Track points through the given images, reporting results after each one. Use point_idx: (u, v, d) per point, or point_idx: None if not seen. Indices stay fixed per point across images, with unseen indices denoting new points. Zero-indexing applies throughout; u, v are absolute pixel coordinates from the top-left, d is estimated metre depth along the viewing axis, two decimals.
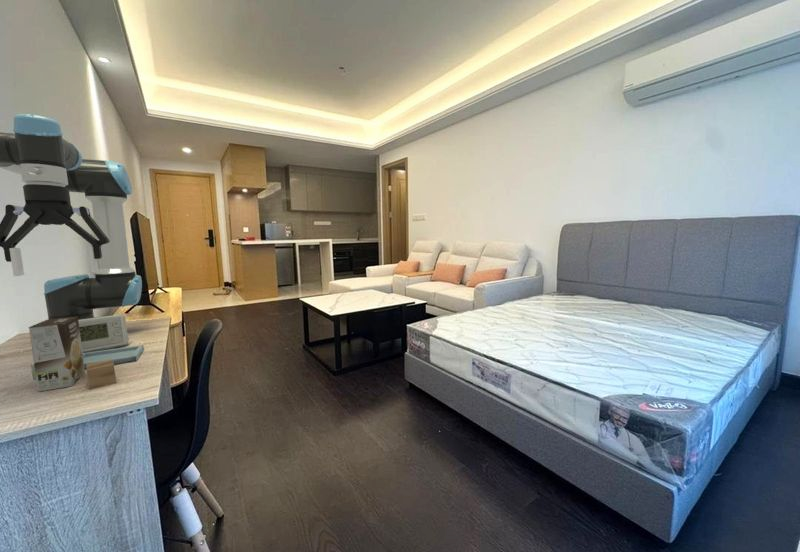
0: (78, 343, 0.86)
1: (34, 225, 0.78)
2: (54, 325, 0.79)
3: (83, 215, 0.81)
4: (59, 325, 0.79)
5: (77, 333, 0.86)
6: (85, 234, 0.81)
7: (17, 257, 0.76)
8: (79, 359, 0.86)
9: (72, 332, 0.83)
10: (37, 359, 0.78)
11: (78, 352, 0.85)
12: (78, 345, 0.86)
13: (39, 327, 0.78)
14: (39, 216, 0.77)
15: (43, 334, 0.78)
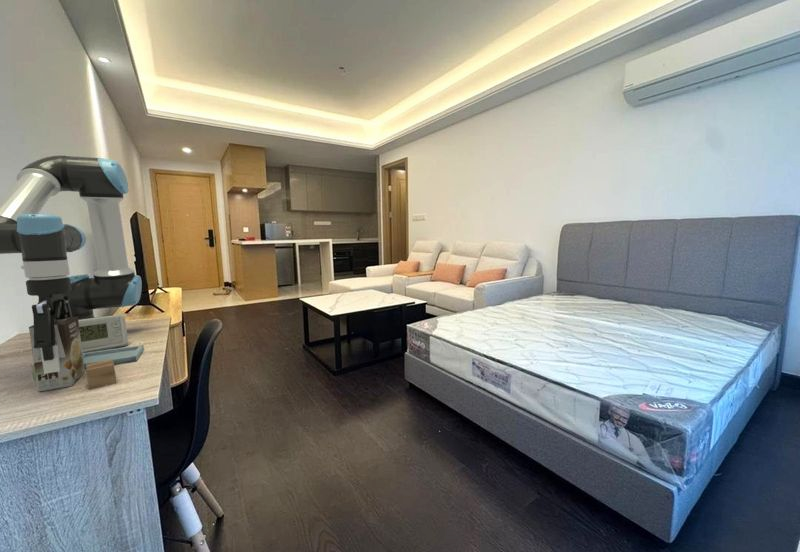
0: (78, 343, 0.86)
1: None
2: (54, 325, 0.79)
3: None
4: (59, 325, 0.79)
5: (77, 333, 0.86)
6: None
7: None
8: (79, 359, 0.86)
9: (72, 332, 0.83)
10: (37, 359, 0.78)
11: (77, 352, 0.85)
12: (78, 345, 0.86)
13: None
14: None
15: None
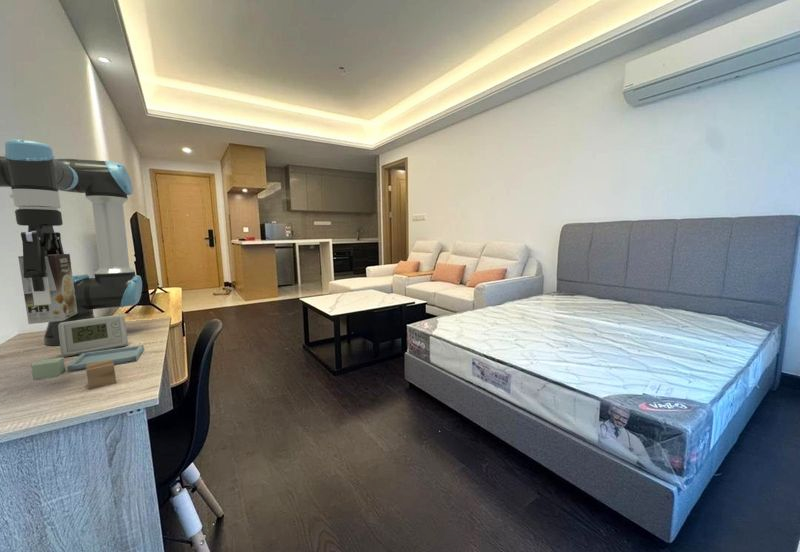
0: (70, 280, 0.84)
1: (49, 249, 0.82)
2: None
3: None
4: (49, 257, 0.77)
5: (69, 270, 0.84)
6: None
7: None
8: (71, 297, 0.84)
9: (63, 267, 0.81)
10: (27, 290, 0.76)
11: (69, 289, 0.83)
12: (70, 282, 0.84)
13: None
14: None
15: None
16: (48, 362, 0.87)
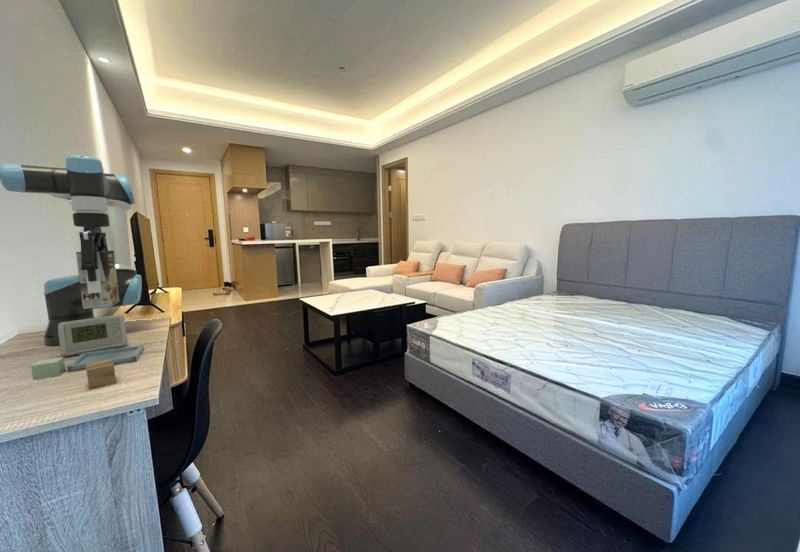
0: (114, 273, 0.99)
1: None
2: None
3: None
4: (100, 252, 0.92)
5: (113, 264, 0.99)
6: None
7: None
8: (115, 287, 0.99)
9: (110, 261, 0.96)
10: (82, 280, 0.91)
11: (114, 280, 0.98)
12: (114, 275, 0.99)
13: None
14: None
15: None
16: (48, 362, 0.87)
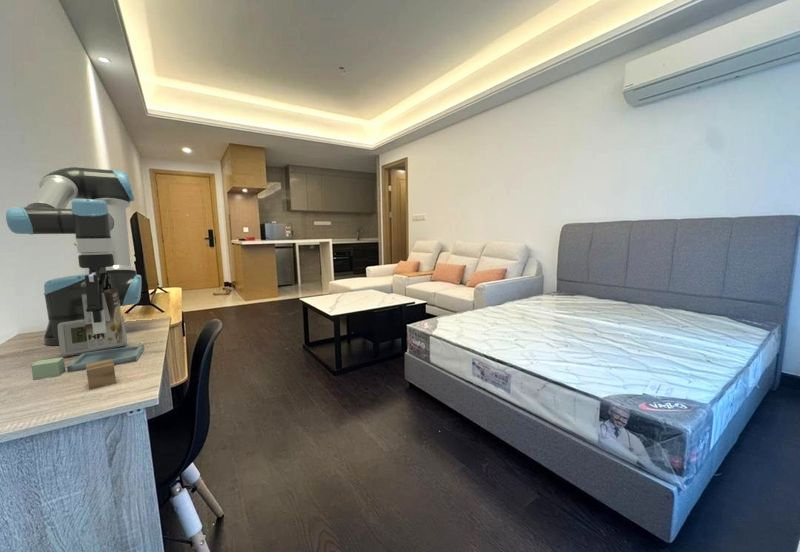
0: (119, 311, 1.00)
1: None
2: None
3: None
4: (105, 293, 0.94)
5: (118, 302, 1.00)
6: None
7: None
8: (119, 324, 1.00)
9: (114, 300, 0.97)
10: (88, 321, 0.92)
11: (118, 318, 1.00)
12: (119, 312, 1.00)
13: None
14: None
15: None
16: (48, 362, 0.87)
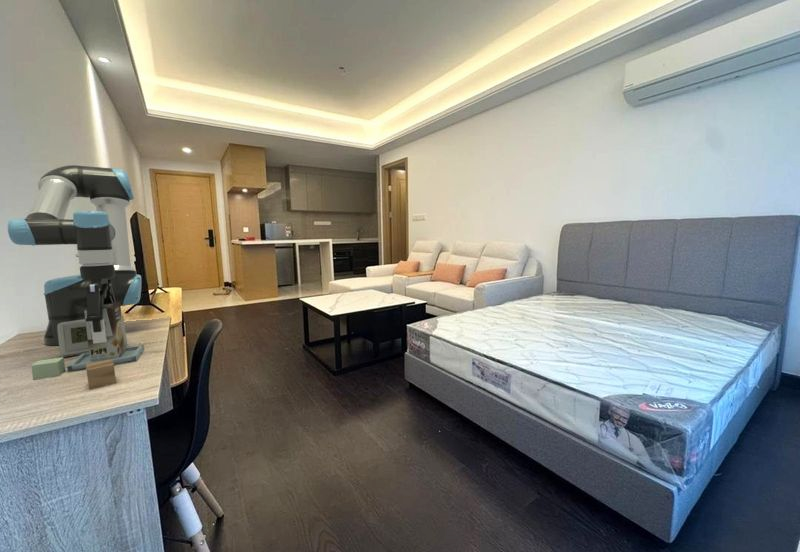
0: (121, 325, 1.01)
1: None
2: (104, 308, 0.94)
3: None
4: (108, 308, 0.94)
5: (120, 316, 1.01)
6: None
7: None
8: (121, 338, 1.01)
9: (117, 315, 0.98)
10: (90, 337, 0.93)
11: (120, 332, 1.01)
12: (121, 327, 1.01)
13: None
14: None
15: None
16: (48, 362, 0.87)
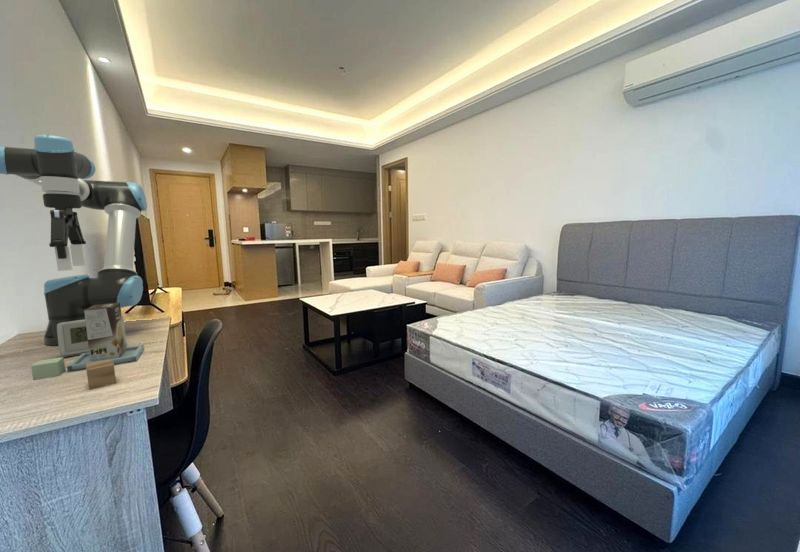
0: (120, 325, 1.01)
1: (70, 227, 0.97)
2: (104, 308, 0.94)
3: None
4: (108, 308, 0.94)
5: (120, 316, 1.01)
6: None
7: (74, 251, 1.00)
8: (121, 338, 1.01)
9: (116, 315, 0.98)
10: (90, 337, 0.93)
11: (120, 332, 1.01)
12: (121, 327, 1.01)
13: (92, 310, 0.93)
14: None
15: (95, 316, 0.93)
16: (48, 362, 0.87)
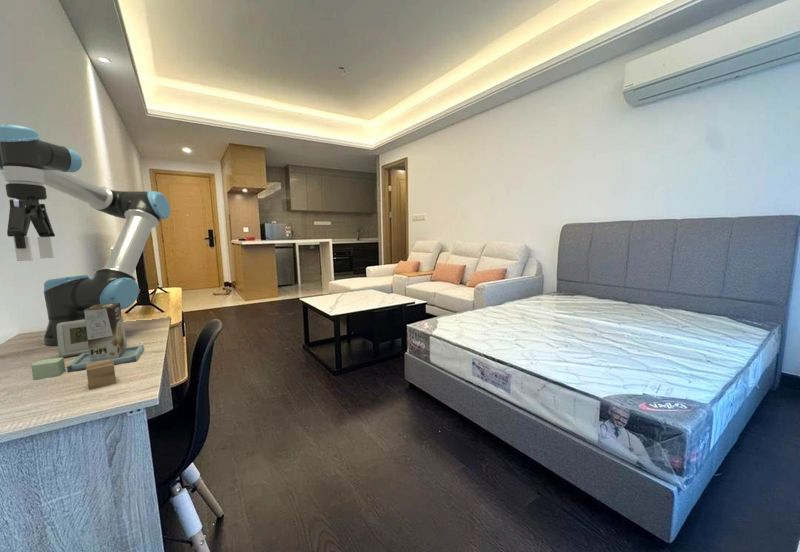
0: (121, 325, 1.01)
1: (36, 218, 0.96)
2: (104, 308, 0.94)
3: None
4: (108, 308, 0.94)
5: (120, 316, 1.01)
6: None
7: (42, 244, 0.99)
8: (121, 338, 1.01)
9: (117, 315, 0.98)
10: (90, 337, 0.93)
11: (120, 332, 1.01)
12: (121, 327, 1.01)
13: (92, 310, 0.93)
14: None
15: (95, 316, 0.93)
16: (48, 362, 0.87)
